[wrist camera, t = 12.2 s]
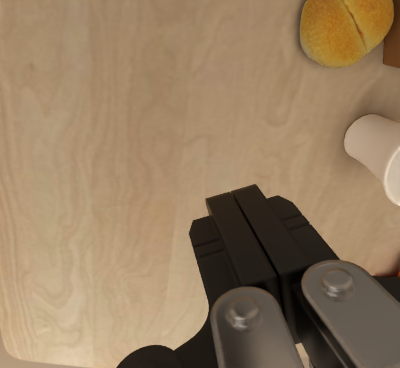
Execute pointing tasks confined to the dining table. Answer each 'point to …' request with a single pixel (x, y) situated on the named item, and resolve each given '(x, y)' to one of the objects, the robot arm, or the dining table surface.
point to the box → (393, 39)
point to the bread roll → (343, 29)
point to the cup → (377, 150)
